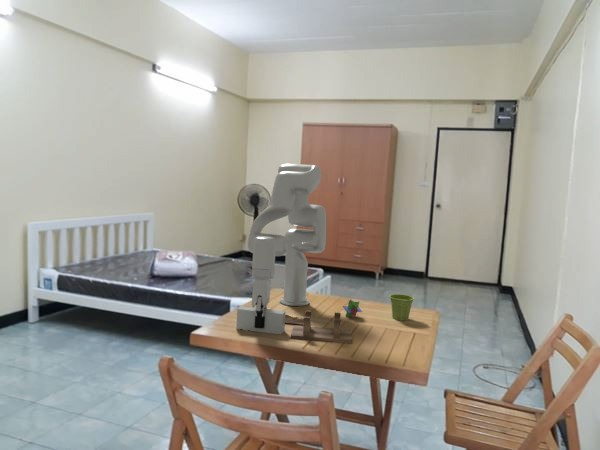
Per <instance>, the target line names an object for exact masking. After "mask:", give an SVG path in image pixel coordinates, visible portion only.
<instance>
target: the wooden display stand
mask: <svg viewBox="0 0 600 450" xmlns="http://www.w3.org/2000/svg"><path fill="white" fill-rule="evenodd" d="M312 312H313V311H312V310H308V309H307V310H305V315H304V316H303V319H304V325H303V326H302V325H293V326H292V329H291V333H290V337H289V338H290V339H291V340H292V339H294V340H307V341H309V340H310V341H318V342H330V343H344V344H346V343H348V344H352V343H353V336H352V330H351V329H342V328H341V321H342V319H341V315H342V313H341V312H334V317H333V319H334V320H333V328H332V327H331V328H330V327H316V326H312Z"/></svg>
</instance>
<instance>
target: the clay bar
mask: <svg viewBox="0 0 600 450" xmlns="http://www.w3.org/2000/svg"><path fill="white" fill-rule="evenodd" d="M261 310H262V309H261ZM285 314H286V310H279V309H269V308H267V309H264V316H265V323H264V328H255V315H256V307H254V308H253V307H252V306H243V305H241V306H239V307H237V309H236V328H235V329H236V330H240V329H243V331H248V330H250V332H259V333H267V334H276V335H283V334H284V333H285V331H286V330H285V329H286V327H285V326H286V323H285Z"/></svg>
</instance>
